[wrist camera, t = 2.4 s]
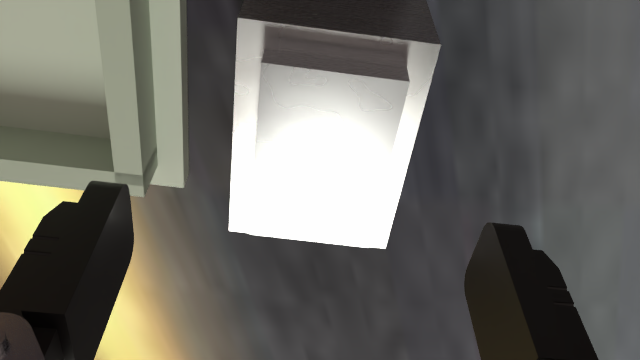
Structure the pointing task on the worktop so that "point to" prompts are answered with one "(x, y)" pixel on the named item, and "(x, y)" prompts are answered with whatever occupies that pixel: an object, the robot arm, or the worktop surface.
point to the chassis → (94, 93)
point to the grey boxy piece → (327, 115)
